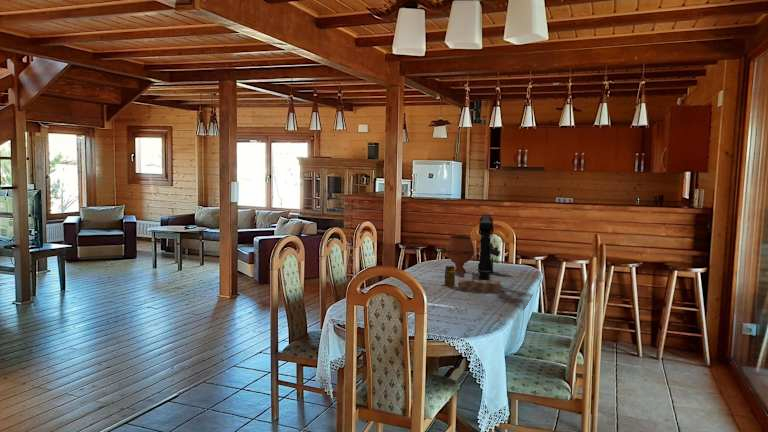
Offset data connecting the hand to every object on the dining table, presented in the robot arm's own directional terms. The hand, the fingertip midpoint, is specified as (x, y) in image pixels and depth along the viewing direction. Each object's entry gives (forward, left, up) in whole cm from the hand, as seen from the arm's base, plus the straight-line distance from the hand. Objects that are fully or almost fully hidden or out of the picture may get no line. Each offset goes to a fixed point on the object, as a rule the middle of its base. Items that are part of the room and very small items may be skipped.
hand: (484, 269), depth 337 cm
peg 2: (-3, +2, -12) cm, 13 cm away
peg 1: (+7, -7, -8) cm, 12 cm away
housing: (+2, -2, -12) cm, 12 cm away
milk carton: (-44, -45, -12) cm, 64 cm away
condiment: (+11, -20, -12) cm, 26 cm away
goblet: (-26, -52, -12) cm, 60 cm away
